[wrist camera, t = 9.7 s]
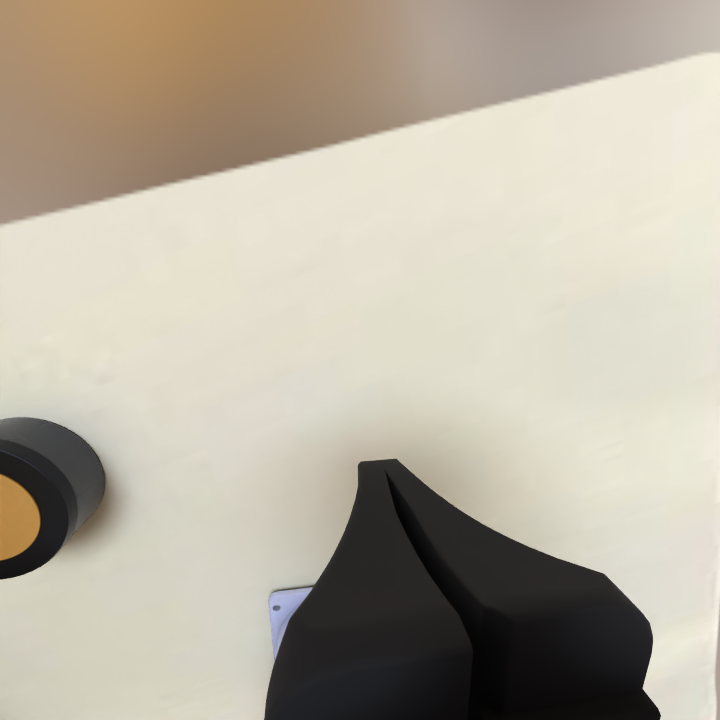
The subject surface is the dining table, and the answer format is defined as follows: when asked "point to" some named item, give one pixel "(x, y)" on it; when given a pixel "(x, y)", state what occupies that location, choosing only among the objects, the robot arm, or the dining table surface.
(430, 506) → the robot arm
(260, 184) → the dining table surface
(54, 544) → the tin
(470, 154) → the dining table surface
